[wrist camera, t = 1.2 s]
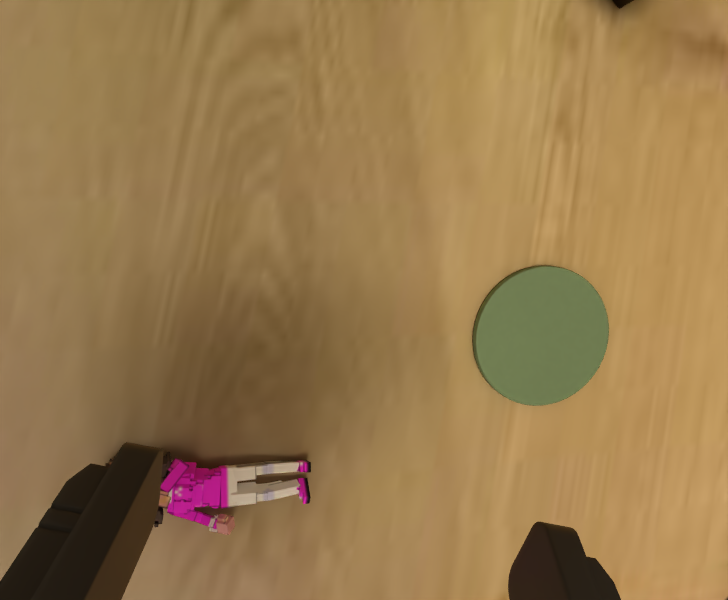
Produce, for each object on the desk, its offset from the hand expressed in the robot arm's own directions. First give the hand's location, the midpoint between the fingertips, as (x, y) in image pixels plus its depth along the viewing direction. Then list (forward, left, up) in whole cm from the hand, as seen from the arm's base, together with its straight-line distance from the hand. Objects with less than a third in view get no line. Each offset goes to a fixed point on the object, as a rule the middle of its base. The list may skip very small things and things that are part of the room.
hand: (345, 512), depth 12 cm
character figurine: (+10, -4, -22) cm, 25 cm away
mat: (0, +16, -22) cm, 27 cm away
